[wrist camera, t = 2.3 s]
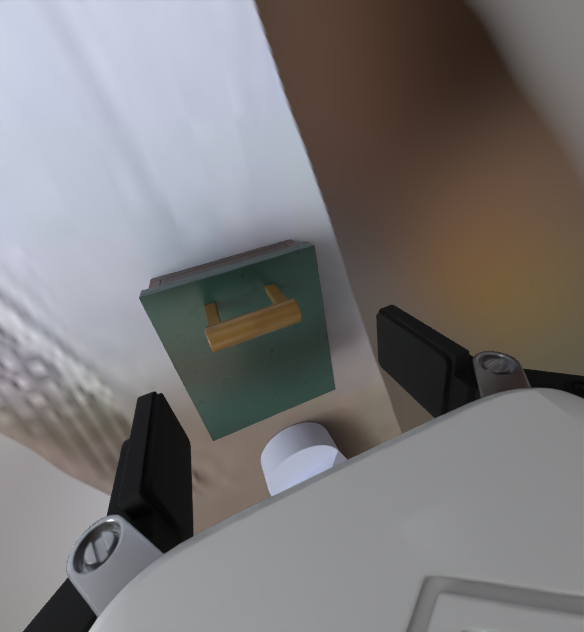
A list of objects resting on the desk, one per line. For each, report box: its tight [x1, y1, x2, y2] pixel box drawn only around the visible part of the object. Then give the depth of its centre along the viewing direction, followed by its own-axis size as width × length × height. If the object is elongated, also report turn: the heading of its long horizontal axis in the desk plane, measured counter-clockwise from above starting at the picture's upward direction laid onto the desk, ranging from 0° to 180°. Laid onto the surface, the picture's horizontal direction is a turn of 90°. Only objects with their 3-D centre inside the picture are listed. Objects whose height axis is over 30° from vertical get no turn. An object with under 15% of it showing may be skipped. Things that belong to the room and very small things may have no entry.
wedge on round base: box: [261, 422, 348, 496], centre depth 33 cm, size 9×7×13 cm
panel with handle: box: [139, 242, 335, 441], centre depth 19 cm, size 13×11×6 cm
